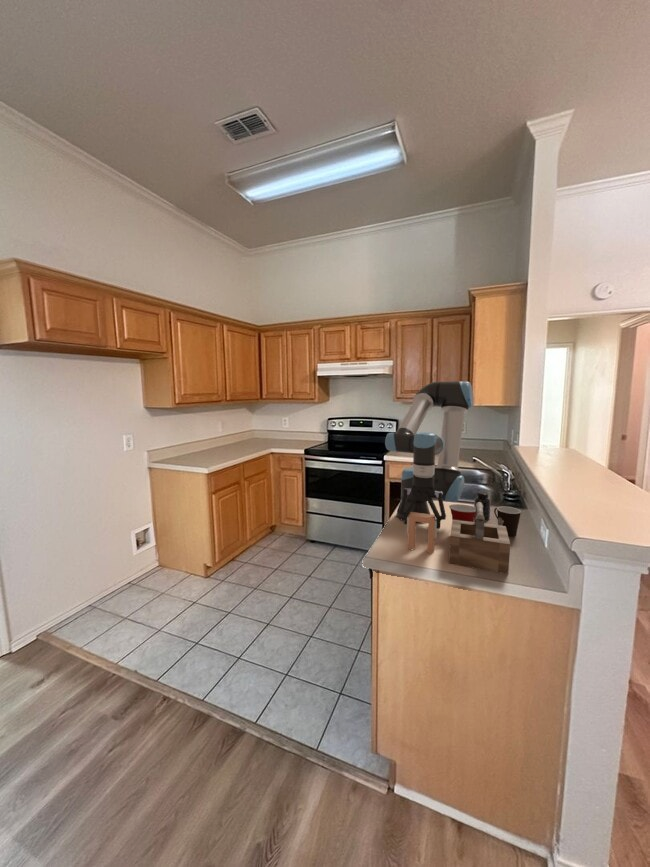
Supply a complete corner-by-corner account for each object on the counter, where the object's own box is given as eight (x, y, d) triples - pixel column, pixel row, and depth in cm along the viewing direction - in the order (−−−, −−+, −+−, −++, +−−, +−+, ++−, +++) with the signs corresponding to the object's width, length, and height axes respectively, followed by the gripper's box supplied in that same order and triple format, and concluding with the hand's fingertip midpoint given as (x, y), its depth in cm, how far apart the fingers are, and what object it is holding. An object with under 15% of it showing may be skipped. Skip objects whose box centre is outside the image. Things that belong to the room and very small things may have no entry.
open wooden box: (451, 544, 135) (453, 499, 133) (504, 552, 128) (507, 504, 126) (449, 563, 120) (451, 512, 118) (508, 573, 113) (511, 520, 111)
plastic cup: (475, 531, 147) (477, 503, 146) (477, 542, 137) (479, 512, 135) (447, 528, 151) (449, 501, 149) (447, 538, 140) (449, 509, 139)
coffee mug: (522, 538, 140) (524, 514, 139) (498, 536, 142) (500, 512, 141) (513, 527, 151) (514, 504, 150) (491, 525, 153) (492, 503, 152)
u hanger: (409, 544, 135) (410, 511, 133) (434, 548, 132) (435, 514, 130) (408, 549, 131) (408, 515, 130) (433, 553, 128) (434, 518, 126)
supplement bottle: (470, 515, 166) (471, 490, 164) (484, 515, 166) (486, 490, 165) (478, 520, 159) (479, 495, 158) (492, 520, 160) (494, 494, 158)
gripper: (391, 475, 129) (390, 534, 132) (454, 480, 121) (452, 543, 123) (395, 470, 136) (394, 526, 138) (455, 475, 127) (453, 535, 130)
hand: (421, 534), depth 131 cm, fingers closed on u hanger, 9 cm apart
